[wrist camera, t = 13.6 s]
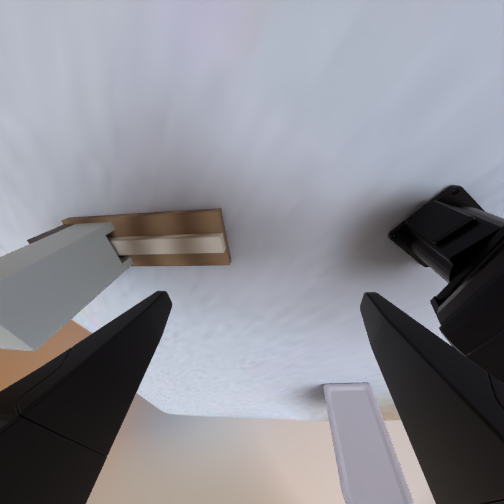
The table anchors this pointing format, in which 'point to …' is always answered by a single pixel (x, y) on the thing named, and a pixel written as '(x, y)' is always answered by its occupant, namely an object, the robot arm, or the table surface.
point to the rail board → (163, 237)
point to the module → (54, 282)
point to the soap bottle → (364, 447)
